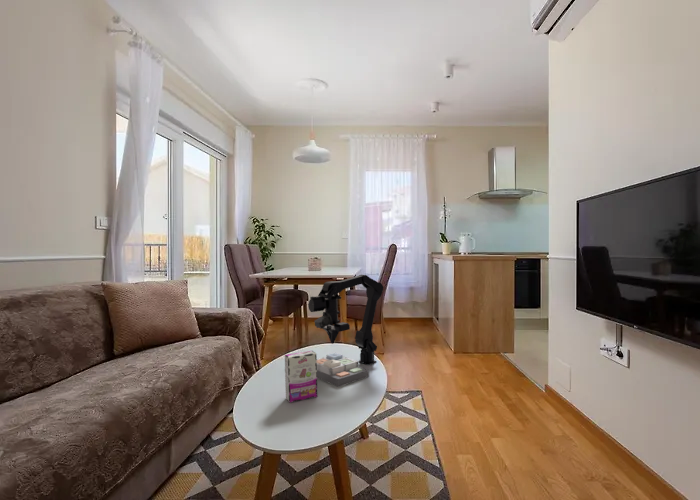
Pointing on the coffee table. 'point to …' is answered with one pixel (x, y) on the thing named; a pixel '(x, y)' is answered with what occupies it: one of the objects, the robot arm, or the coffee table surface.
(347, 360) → the sage key
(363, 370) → the keypad
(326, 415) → the coffee table surface
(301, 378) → the candy bar box
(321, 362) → the peach flat square block
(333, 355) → the slate key
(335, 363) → the cream key
